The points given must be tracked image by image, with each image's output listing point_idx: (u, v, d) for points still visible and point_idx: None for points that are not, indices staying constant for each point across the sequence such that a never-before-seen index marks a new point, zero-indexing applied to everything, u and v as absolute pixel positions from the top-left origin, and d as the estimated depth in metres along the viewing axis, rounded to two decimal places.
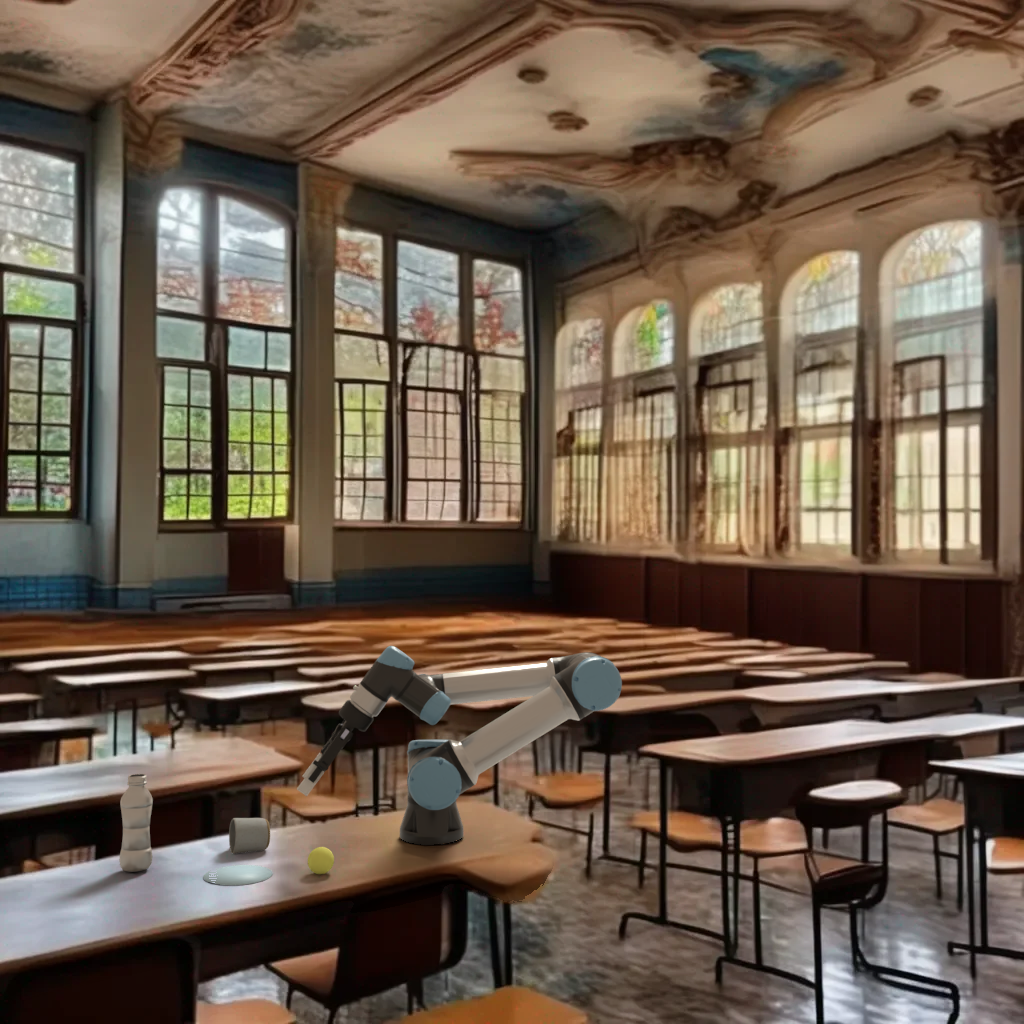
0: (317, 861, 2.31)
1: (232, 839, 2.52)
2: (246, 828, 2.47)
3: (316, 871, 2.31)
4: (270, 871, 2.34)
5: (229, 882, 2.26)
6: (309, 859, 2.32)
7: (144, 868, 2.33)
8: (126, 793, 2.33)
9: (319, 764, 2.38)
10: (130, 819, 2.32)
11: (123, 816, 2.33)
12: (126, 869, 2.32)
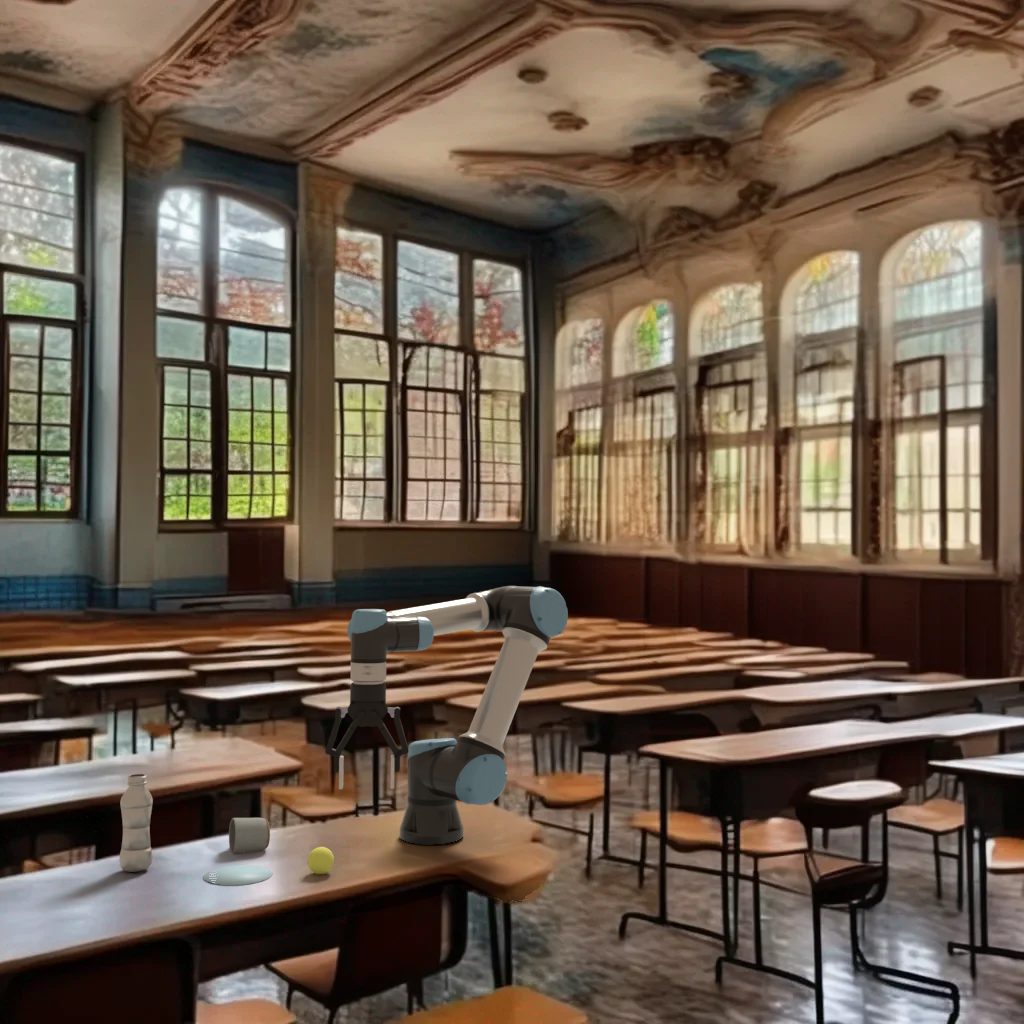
0: (317, 861, 2.31)
1: (232, 839, 2.52)
2: (246, 828, 2.47)
3: (316, 871, 2.31)
4: (270, 871, 2.34)
5: (229, 882, 2.26)
6: (309, 859, 2.32)
7: (144, 868, 2.33)
8: (126, 793, 2.33)
9: None
10: (130, 819, 2.32)
11: (123, 816, 2.33)
12: (126, 869, 2.32)
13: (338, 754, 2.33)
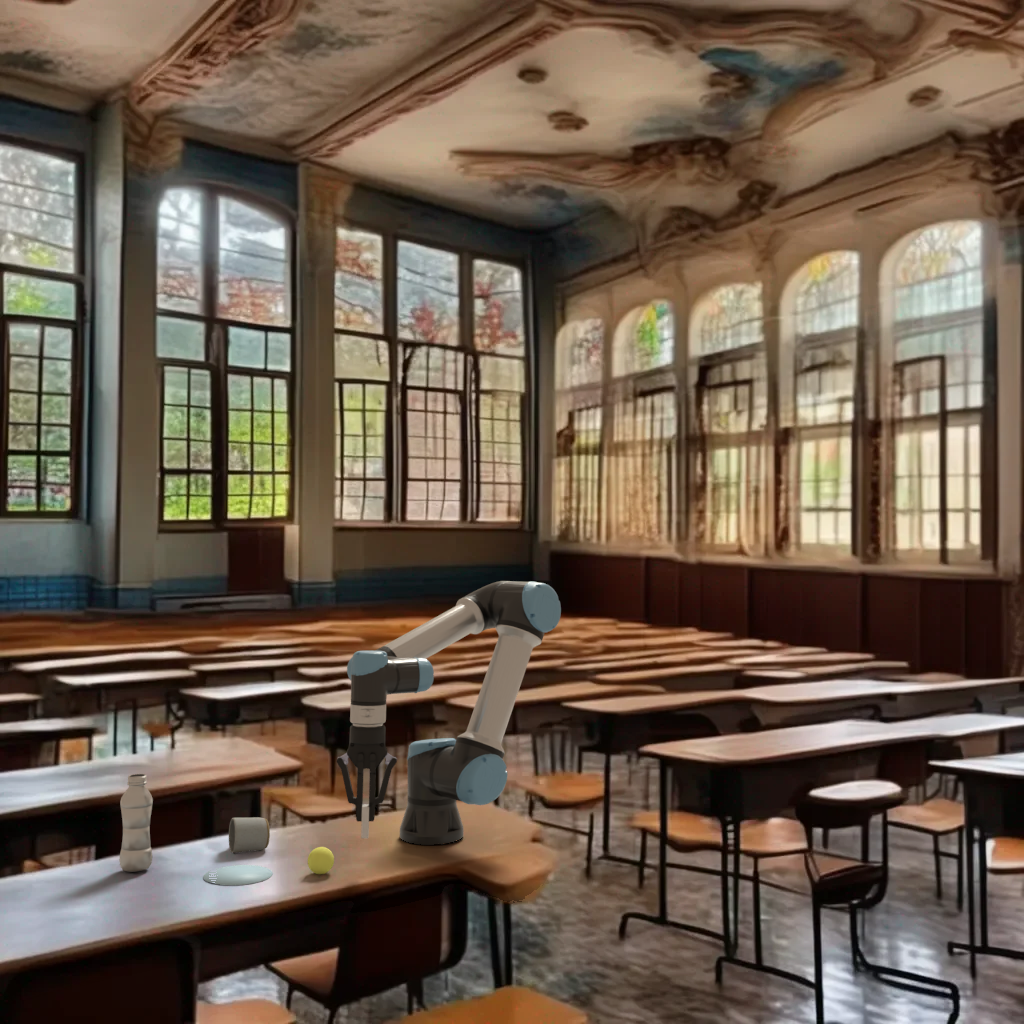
0: (317, 861, 2.31)
1: (232, 838, 2.52)
2: (246, 827, 2.48)
3: (316, 871, 2.31)
4: (270, 871, 2.34)
5: (229, 882, 2.26)
6: (309, 859, 2.32)
7: (144, 868, 2.33)
8: (126, 793, 2.33)
9: None
10: (130, 819, 2.32)
11: (123, 816, 2.33)
12: (126, 869, 2.32)
13: (360, 802, 2.33)
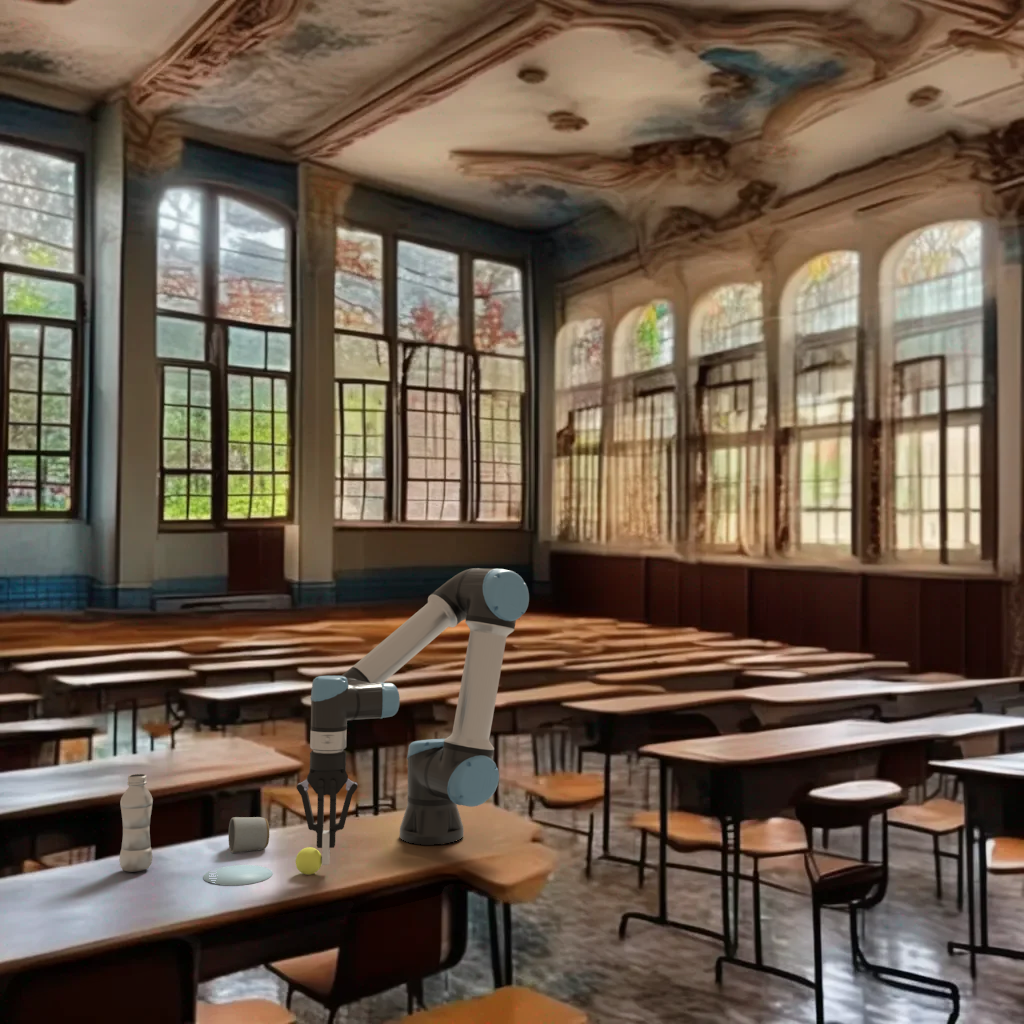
0: (304, 864, 2.30)
1: (231, 838, 2.53)
2: (245, 827, 2.48)
3: (310, 872, 2.31)
4: (270, 871, 2.34)
5: (229, 882, 2.26)
6: (298, 867, 2.31)
7: (144, 868, 2.33)
8: (126, 793, 2.33)
9: (343, 827, 2.33)
10: (130, 819, 2.32)
11: (123, 816, 2.33)
12: (126, 869, 2.32)
13: (321, 829, 2.32)
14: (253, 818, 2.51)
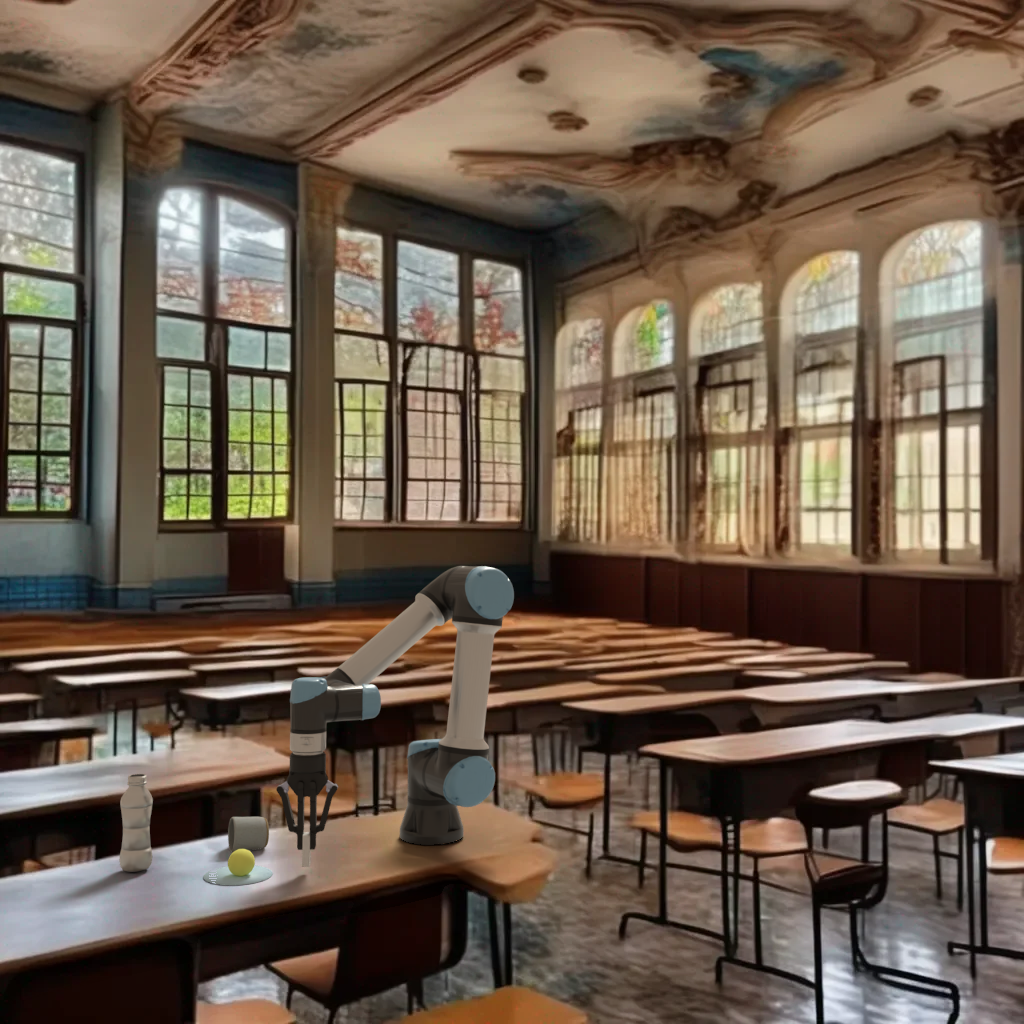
0: (238, 863, 2.29)
1: (231, 838, 2.53)
2: (245, 827, 2.48)
3: (232, 870, 2.29)
4: (270, 871, 2.34)
5: (229, 882, 2.26)
6: (232, 856, 2.30)
7: (144, 868, 2.33)
8: (126, 793, 2.33)
9: None
10: (130, 819, 2.32)
11: (123, 816, 2.33)
12: (126, 869, 2.32)
13: (301, 830, 2.32)
14: (253, 818, 2.52)
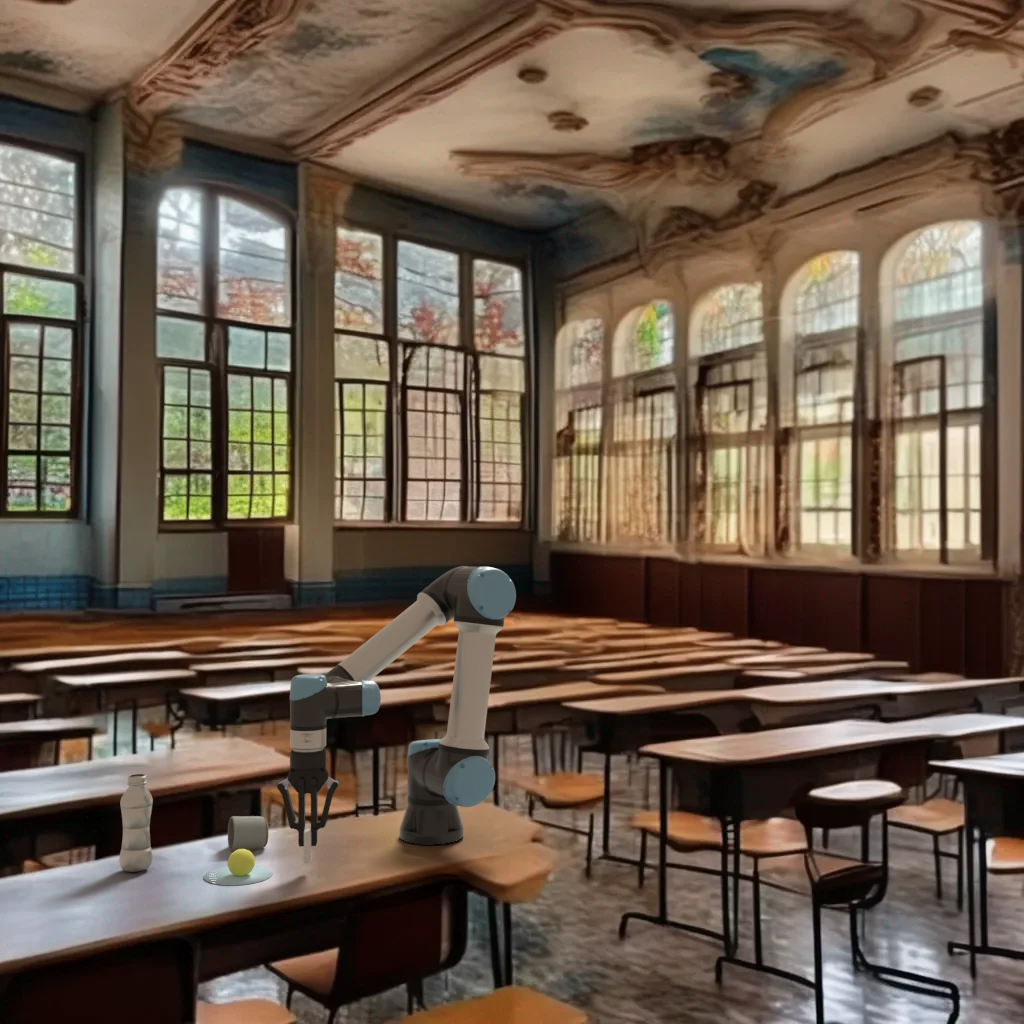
0: (238, 863, 2.29)
1: (231, 837, 2.54)
2: (244, 826, 2.49)
3: (232, 870, 2.29)
4: (270, 871, 2.34)
5: (229, 882, 2.26)
6: (232, 856, 2.30)
7: (144, 868, 2.33)
8: (126, 793, 2.33)
9: None
10: (130, 819, 2.32)
11: (123, 816, 2.33)
12: (126, 869, 2.32)
13: (302, 827, 2.32)
14: (252, 817, 2.52)
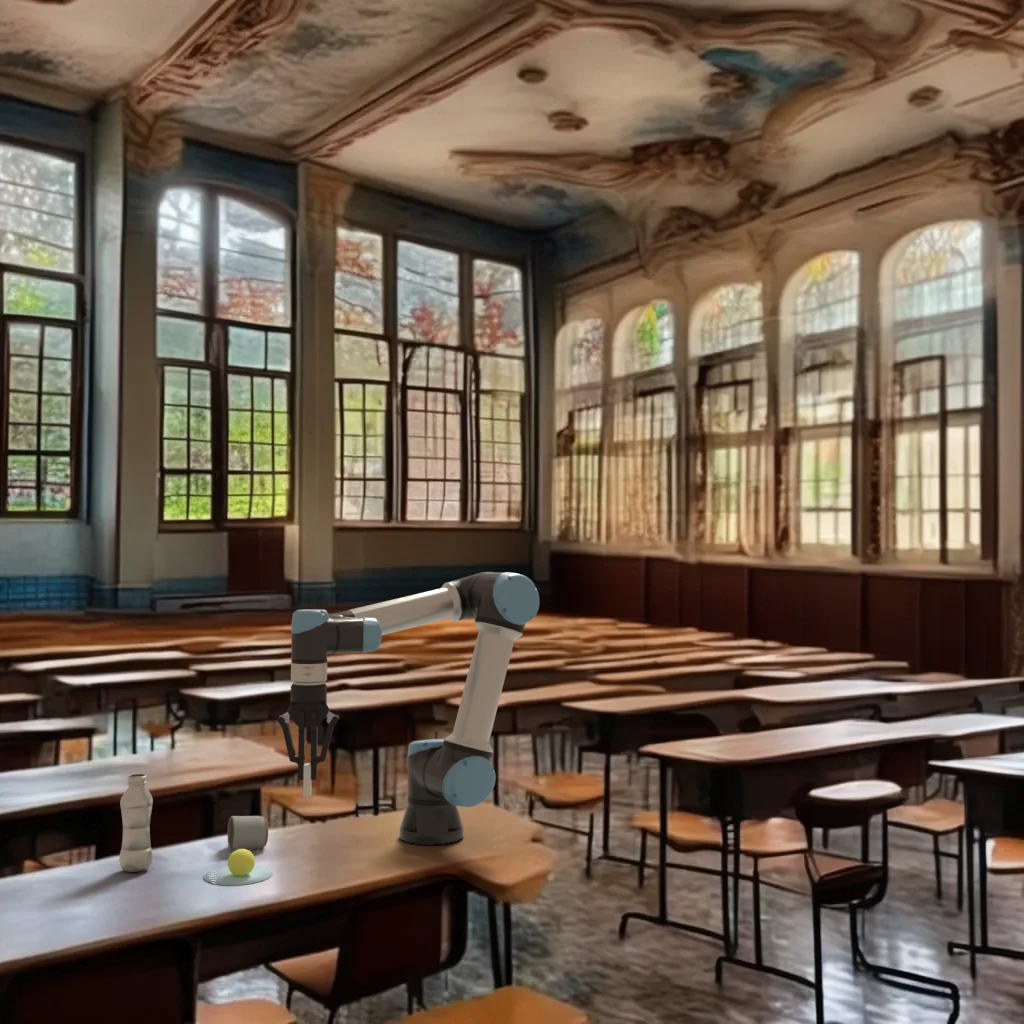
0: (238, 863, 2.29)
1: (230, 837, 2.54)
2: (244, 826, 2.49)
3: (232, 870, 2.29)
4: (270, 871, 2.34)
5: (229, 882, 2.26)
6: (232, 856, 2.30)
7: (144, 868, 2.33)
8: (126, 793, 2.33)
9: (324, 759, 2.33)
10: (130, 819, 2.32)
11: (123, 816, 2.33)
12: (126, 869, 2.32)
13: (302, 761, 2.32)
14: (252, 817, 2.52)
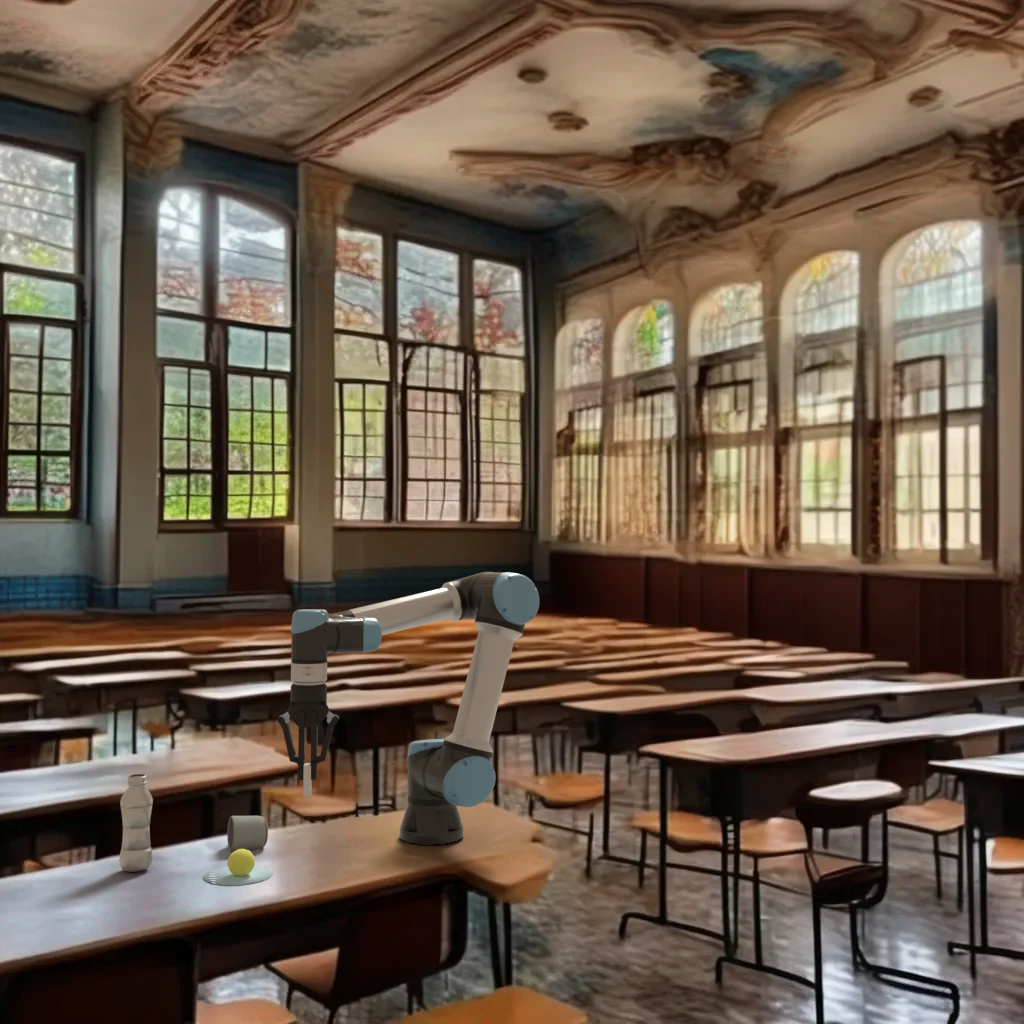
0: (238, 863, 2.29)
1: (230, 837, 2.54)
2: (244, 826, 2.49)
3: (232, 870, 2.29)
4: (270, 871, 2.34)
5: (229, 882, 2.26)
6: (232, 856, 2.30)
7: (144, 868, 2.33)
8: (126, 793, 2.33)
9: (324, 759, 2.33)
10: (130, 819, 2.32)
11: (123, 816, 2.33)
12: (126, 869, 2.32)
13: (302, 761, 2.32)
14: (252, 817, 2.53)
